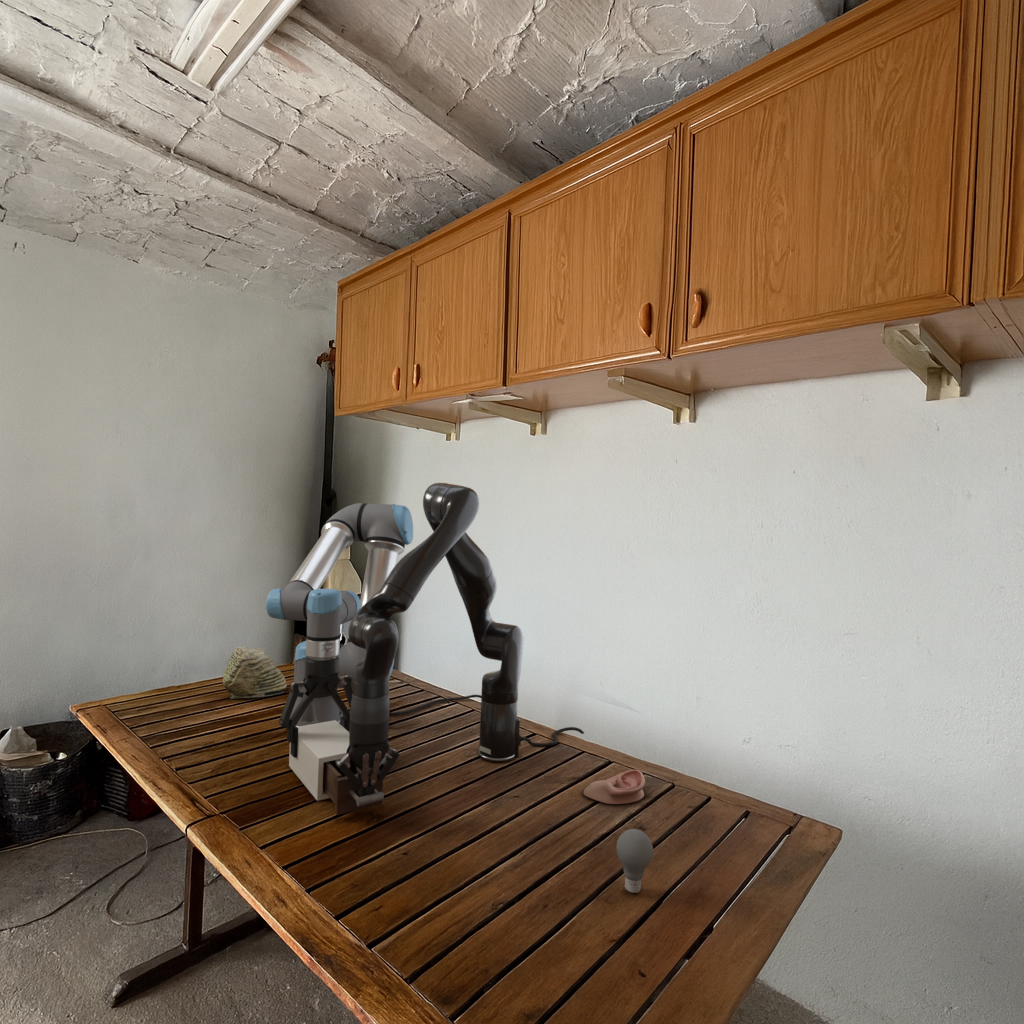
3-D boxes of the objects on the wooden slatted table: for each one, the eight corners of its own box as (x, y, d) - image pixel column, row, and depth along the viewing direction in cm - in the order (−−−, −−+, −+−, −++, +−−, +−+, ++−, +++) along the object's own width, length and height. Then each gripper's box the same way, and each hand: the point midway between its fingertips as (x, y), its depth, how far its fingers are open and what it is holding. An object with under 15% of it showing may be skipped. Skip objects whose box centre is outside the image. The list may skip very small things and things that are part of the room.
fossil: (218, 695, 195) (220, 647, 195) (278, 685, 208) (279, 640, 207) (228, 703, 189) (230, 653, 188) (289, 692, 201) (290, 645, 201)
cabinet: (366, 789, 138) (367, 748, 138) (317, 801, 132) (318, 758, 132) (333, 756, 154) (335, 720, 154) (288, 765, 148) (290, 727, 148)
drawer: (393, 815, 125) (395, 780, 125) (347, 828, 120) (348, 792, 120) (348, 769, 145) (349, 740, 145) (306, 779, 139) (307, 748, 139)
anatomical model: (582, 782, 137) (587, 761, 148) (581, 800, 137) (586, 778, 148) (645, 790, 134) (645, 768, 145) (644, 809, 134) (644, 785, 145)
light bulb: (610, 879, 108) (613, 822, 108) (644, 879, 109) (647, 822, 109) (619, 902, 102) (622, 840, 102) (655, 901, 103) (658, 840, 103)
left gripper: (275, 666, 137) (271, 766, 138) (376, 654, 151) (372, 746, 151) (266, 658, 143) (262, 754, 144) (363, 648, 157) (360, 736, 157)
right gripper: (343, 727, 117) (340, 819, 118) (408, 716, 125) (405, 802, 126) (330, 715, 124) (326, 802, 124) (392, 704, 131) (389, 787, 132)
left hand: (318, 750), depth 147 cm, fingers closed on cabinet, 11 cm apart
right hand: (366, 802), depth 125 cm, fingers closed
